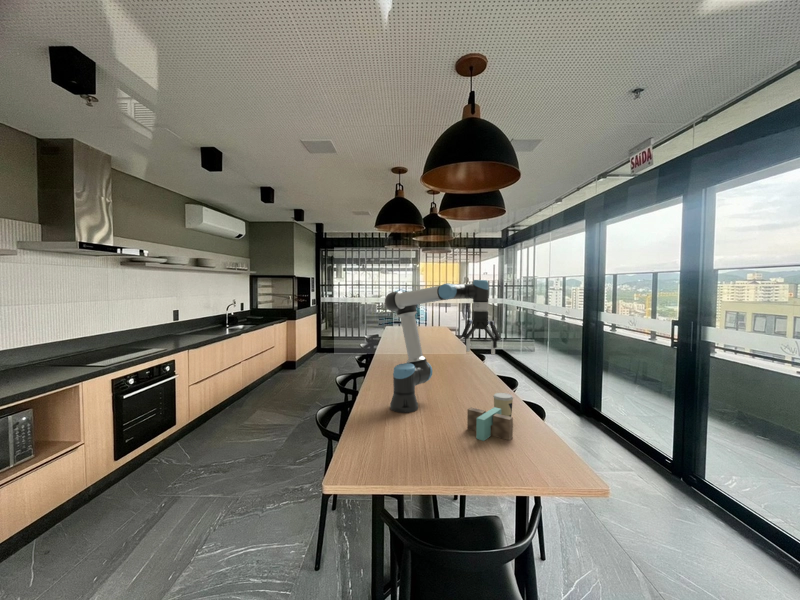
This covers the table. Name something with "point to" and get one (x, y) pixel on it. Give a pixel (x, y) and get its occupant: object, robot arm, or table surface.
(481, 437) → the teal rectangular block
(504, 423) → the walnut rail
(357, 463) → the table surface
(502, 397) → the coffee cup
